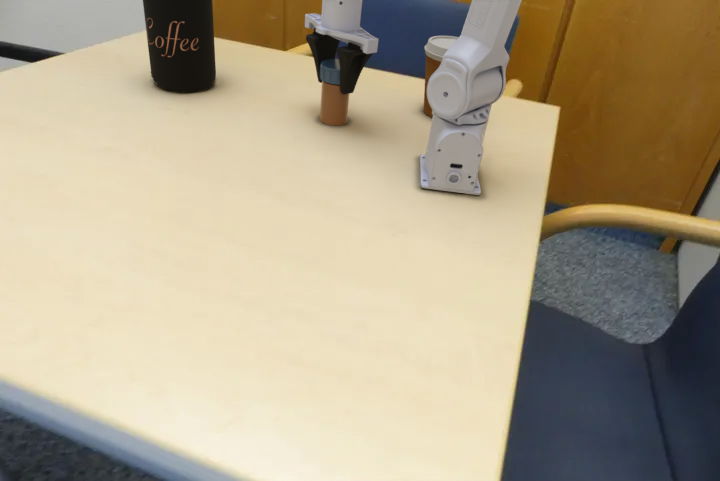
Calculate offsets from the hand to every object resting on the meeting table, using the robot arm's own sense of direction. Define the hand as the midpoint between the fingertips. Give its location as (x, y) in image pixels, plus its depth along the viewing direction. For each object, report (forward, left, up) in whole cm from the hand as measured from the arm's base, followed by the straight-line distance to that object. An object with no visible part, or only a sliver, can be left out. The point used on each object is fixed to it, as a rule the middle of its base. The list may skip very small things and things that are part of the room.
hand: (335, 86), depth 87 cm
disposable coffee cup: (+9, -18, -6) cm, 21 cm away
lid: (0, 0, +3) cm, 3 cm away
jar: (0, 0, -6) cm, 6 cm away
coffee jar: (+8, +27, -6) cm, 29 cm away
